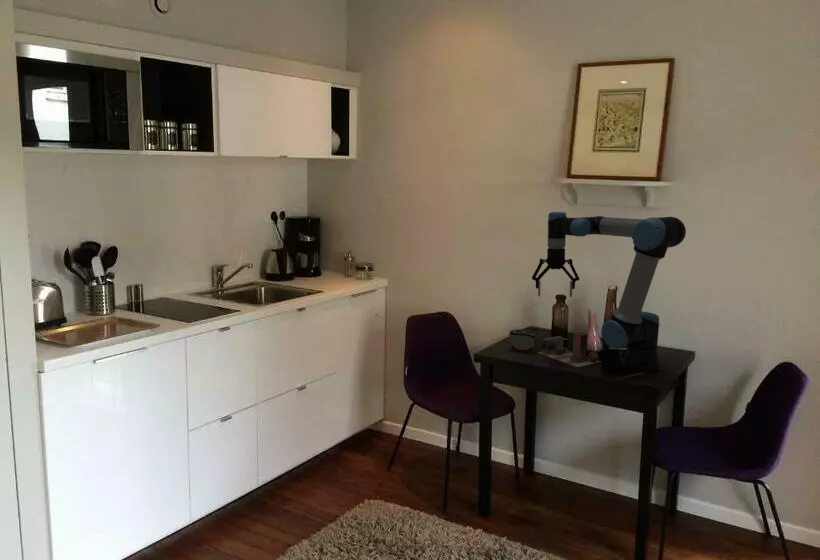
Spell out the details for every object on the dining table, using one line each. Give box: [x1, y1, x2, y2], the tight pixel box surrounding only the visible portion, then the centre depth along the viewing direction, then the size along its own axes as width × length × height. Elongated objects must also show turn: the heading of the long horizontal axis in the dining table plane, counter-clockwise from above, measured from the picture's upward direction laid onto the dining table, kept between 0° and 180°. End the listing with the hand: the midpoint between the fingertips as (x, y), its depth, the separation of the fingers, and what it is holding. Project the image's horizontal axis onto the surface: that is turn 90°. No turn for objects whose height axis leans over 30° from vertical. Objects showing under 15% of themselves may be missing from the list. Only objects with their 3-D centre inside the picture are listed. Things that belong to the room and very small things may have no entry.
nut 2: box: [587, 350, 599, 362], centre depth 288 cm, size 4×4×4 cm
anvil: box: [540, 335, 568, 356], centre depth 300 cm, size 7×10×6 cm
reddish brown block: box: [570, 331, 589, 363], centre depth 288 cm, size 5×5×12 cm
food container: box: [508, 328, 538, 355], centre depth 302 cm, size 12×6×10 cm, turn 63°
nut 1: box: [554, 344, 565, 354], centre depth 299 cm, size 4×4×4 cm
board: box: [537, 350, 602, 368], centre depth 294 cm, size 24×14×1 cm, turn 33°
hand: (554, 296), depth 302 cm, fingers open, 13 cm apart
